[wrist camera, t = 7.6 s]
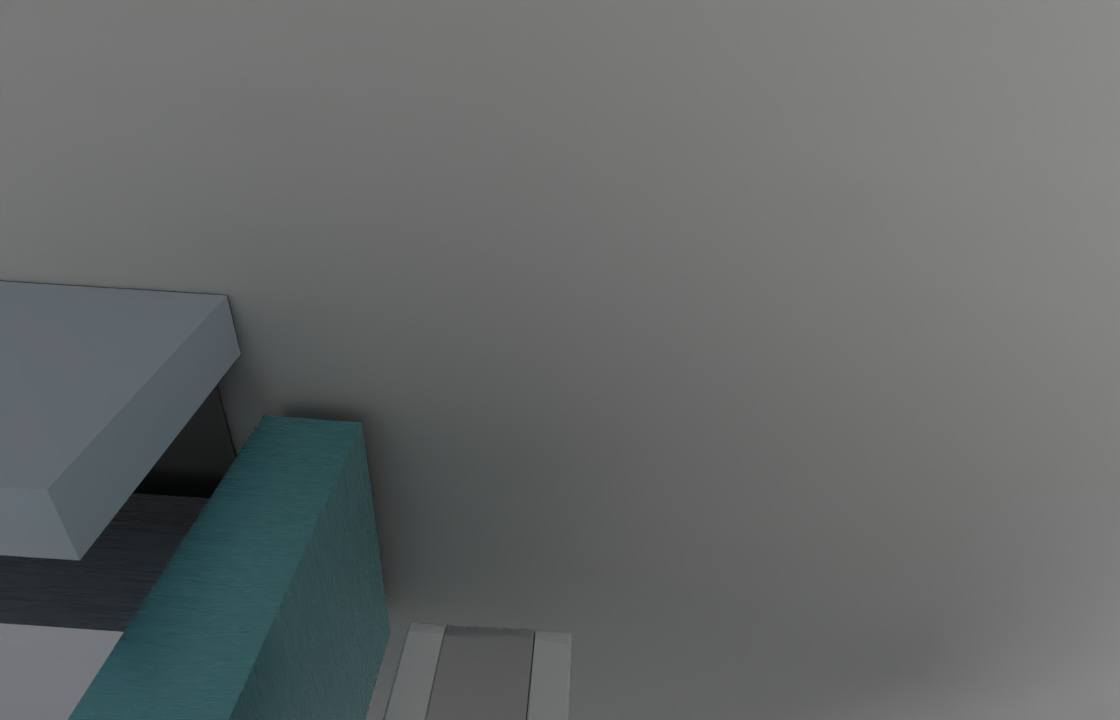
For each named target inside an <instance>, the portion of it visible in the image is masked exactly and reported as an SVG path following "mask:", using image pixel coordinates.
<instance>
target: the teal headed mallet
mask: <svg viewBox="0 0 1120 720" xmlns="http://www.w3.org/2000/svg"><path fill="white" fill-rule="evenodd" d="M389 634H390V628H389V620H388V612H387V605H386V597H385V590H384V582H383V575H382V567H381V560H380V552H379V545H378V537H377V529H376V522H375V514H374V507H373V499H372V492H371V484H370V477H369V469H368V462H367V454H366V446H365V439H364V431H363V424H362V422H352V421H337V420H322V419H306V418H291V417H276V416H263V417H262V418H261V420H260V421H259V423H258V425H257V426H256V428H255V429H254V431H253V432H252V434H251V435H250V437H249V439H248V440H247V442H246V443H245V445H244V446H243V448H242V449H241V451H240V453H239V454H238V456H237V457H236V459H235V460H234V462H233V463H232V465H231V467H230V468H229V470H228V471H227V473H226V474H225V476H224V477H223V479H222V480H221V482H220V484H219V485H218V487H217V488H216V490H215V491H214V493H213V494H212V496H211V498H196V497H181V496H166V495H151V494H136V493H132V494H131V495H130V497H129V498H128V499H127V501H126V502H125V503H124V504H123V506H122V507H121V508H120V510H119V511H118V512H117V513H116V515H115V516H114V517H113V519H112V520H111V521H110V522H109V524H108V525H107V526H106V528H105V529H104V530H103V531H102V533H101V534H100V535H99V537H98V538H97V539H96V540H95V542H94V543H93V544H92V546H91V547H90V548H89V549H88V551H87V552H86V553H85V555H84V556H83V557H82V558H81V560H80V561H79V560H65V559H50V558H36V557H21V556H7V555H0V720H365V718H366V715H367V711H368V708H369V704H370V701H371V697H372V694H373V690H374V687H375V683H376V680H377V676H378V673H379V669H380V666H381V662H382V659H383V655H384V652H385V648H386V645H387V641H388V638H389Z"/></svg>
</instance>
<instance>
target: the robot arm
mask: <svg viewBox="0 0 1120 720" xmlns="http://www.w3.org/2000/svg"><path fill="white" fill-rule="evenodd" d="M571 649H572V637H571V633H568V632H545V631H536V635H535V630H531V629H511V628H490V627H470V626H467V627H465V626H452V625H444V624H429V623H413V622H412V624H411V626H410V628H409V630H408V631H407V633H406V637H405V640H404V644H403V648H402V651H401V655H400V659H399V663H398V666H397V670H396V674H395V678H394V681H393V685H392V689H391V693H390V696H389V700H388V704H387V707H386V711H385V715H384V719H383V720H568V717H569V694H570V672H571Z"/></svg>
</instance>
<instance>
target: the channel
mask: <svg viewBox="0 0 1120 720" xmlns="http://www.w3.org/2000/svg"><path fill="white" fill-rule="evenodd" d="M239 356H240V350H239V346H238V341H237V337H236V333H235V328H234V324H233V320H232V316H231V311H230V307H229V303H228V299H227V295H211V294H195V293H180V292H164V291H148V290H132V289H116V288H100V287H84V286H68V285H52V284H36V283H21V282H5V281H0V555H7V556H21V557H36V558H50V559H65V560H79V561H80V560H81V558H82V557H83V556H84V555H85V553H86V552H87V551H88V549H89V548H90V547H91V546H92V544H93V543H94V542H95V540H96V539H97V538H98V537H99V535H100V534H101V533H102V531H103V530H104V529H105V528H106V526H107V525H108V524H109V522H110V521H111V520H112V519H113V517H114V516H115V515H116V513H117V512H118V511H119V510H120V508H121V507H122V506H123V504H124V503H125V502H126V501H127V499H128V498H129V497H130V495H131V494H132V493H136V494H151V495H166V496H181V497H196V498H211V496H212V494H213V493H214V491H215V490H216V488H217V487H218V485H219V484H220V482H221V480H222V479H223V477H224V476H225V474H226V473H227V471H228V470H229V468H230V467H231V465H232V463H233V462H234V460H235V459H236V458H235V454H234V450H233V446H232V443H231V439H230V435H229V431H228V427H227V424H226V420H225V416H224V412H223V408H222V405H221V401H220V397H219V393H218V389H217V386H216V385H217V384H218V382H219V381H220V380H221V379H222V377H223V376H224V375H225V374H226V372H227V371H228V370H229V368H230V367H231V366H232V365H233V363H234V362H235V361H236V359H237V358H238V357H239Z"/></svg>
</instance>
